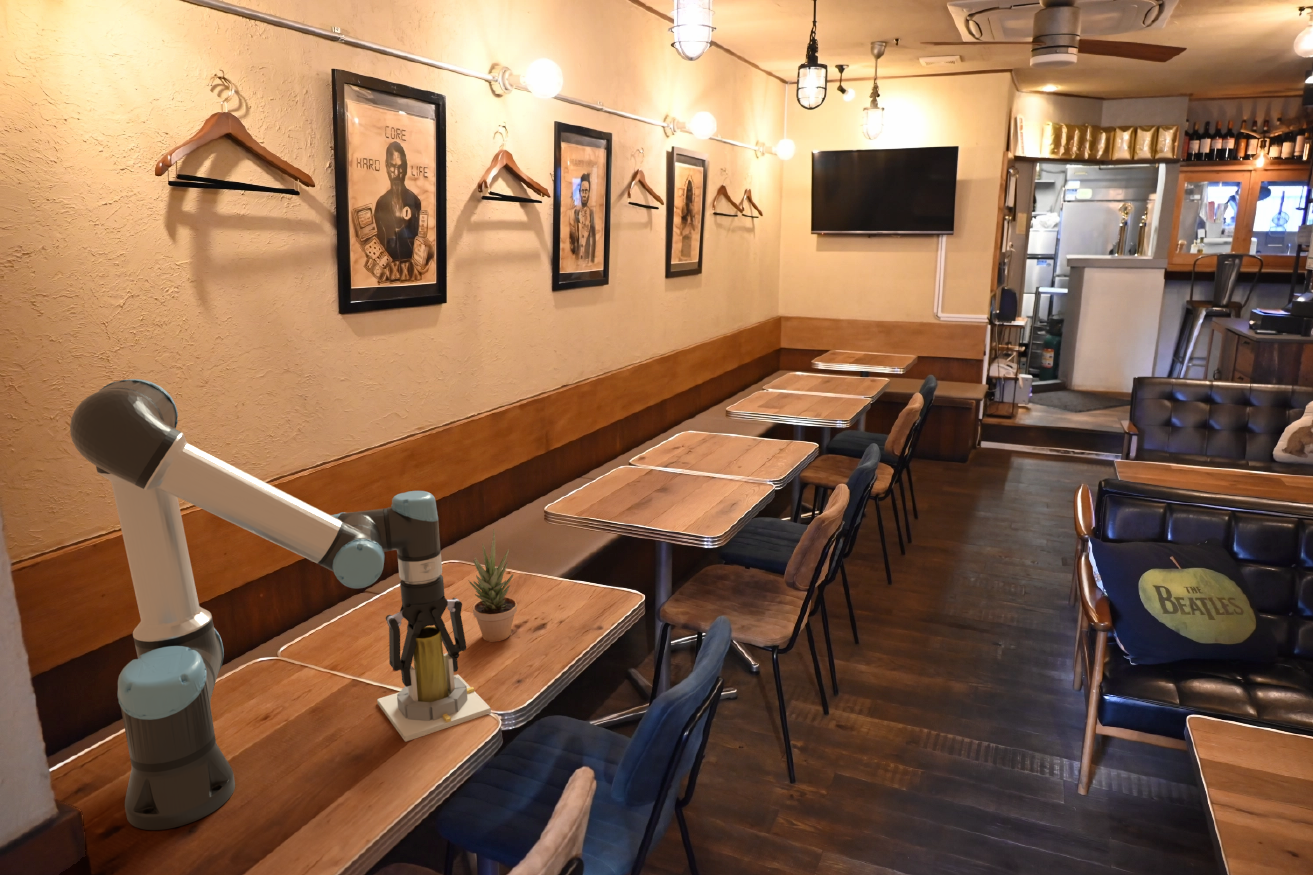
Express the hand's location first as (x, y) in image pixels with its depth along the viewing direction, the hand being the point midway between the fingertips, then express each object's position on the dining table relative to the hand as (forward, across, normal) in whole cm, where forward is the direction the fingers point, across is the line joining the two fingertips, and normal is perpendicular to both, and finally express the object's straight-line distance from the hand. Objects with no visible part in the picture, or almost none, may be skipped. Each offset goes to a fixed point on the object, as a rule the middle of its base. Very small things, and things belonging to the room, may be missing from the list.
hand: (432, 693), depth 162 cm
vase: (+2, 0, 0) cm, 2 cm away
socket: (+3, 0, 0) cm, 3 cm away
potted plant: (+3, +23, +22) cm, 31 cm away
